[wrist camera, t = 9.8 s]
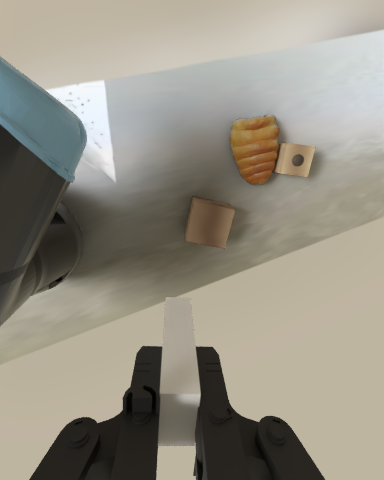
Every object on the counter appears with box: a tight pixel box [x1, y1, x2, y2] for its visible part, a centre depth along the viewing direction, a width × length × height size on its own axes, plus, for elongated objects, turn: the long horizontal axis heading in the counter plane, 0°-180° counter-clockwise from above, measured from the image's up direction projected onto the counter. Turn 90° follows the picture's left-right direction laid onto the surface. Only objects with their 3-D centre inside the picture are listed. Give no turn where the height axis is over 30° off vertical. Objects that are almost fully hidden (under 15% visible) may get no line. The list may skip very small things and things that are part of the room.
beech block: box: [272, 143, 315, 177], centre depth 37 cm, size 4×4×4 cm
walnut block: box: [184, 196, 235, 249], centre depth 39 cm, size 6×6×4 cm
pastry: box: [230, 115, 279, 184], centre depth 36 cm, size 9×7×4 cm
